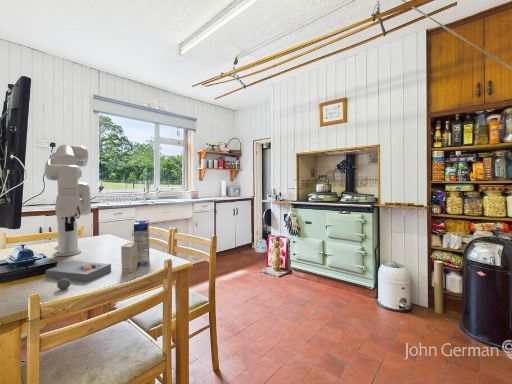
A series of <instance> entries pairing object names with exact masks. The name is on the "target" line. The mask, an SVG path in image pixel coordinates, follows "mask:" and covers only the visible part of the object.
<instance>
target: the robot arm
mask: <svg viewBox="0 0 512 384" xmlns="http://www.w3.org/2000/svg"><path fill="white" fill-rule="evenodd" d="M88 159H89V151H88V149H87V147H85V146H83V145H76V144H75V145H74V144H62V145H59V146H58V147H57V148H56V152H52V153H51V154H50V158H49V159H47V161H46V162H45V165H44V176H45V178H46V179H47V180H49V181H57V194H56V199H55V206H54V209H55V216H56V222H57V244H58V245H56V246H55V247H53V248H54V250H56V252H55V253H54V255H55V256H56V257H69V256H74V255H75V256H76V255H77V254H80V253H81V252H82V249H80V248H79V238H78V237H79V236H78V235H79V234H78V223H77V220H79V219H81V217H83V216H88V215H90V214H91V212H92V211H91V210H92V206H91V205H92V201H91V200H92V199H91V189H90V185H89V183H87V182H84V181H83V182H82V181H81V182H79V180H80V178H82V173H83V172H82V169H81V168H84V167H86V166H87V164H88Z"/></svg>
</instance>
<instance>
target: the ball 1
mask: <svg viewBox="0 0 512 384" xmlns="http://www.w3.org/2000/svg"><path fill="white" fill-rule="evenodd" d="M71 283H72V281H70V280H69V279H67V278H63V279H58V282H57V284H56V288H58V289H59V290H66V289H67V290H68V288H70V286H71Z"/></svg>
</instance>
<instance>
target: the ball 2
mask: <svg viewBox="0 0 512 384" xmlns="http://www.w3.org/2000/svg"><path fill="white" fill-rule="evenodd" d="M90 269H92V267H91V266H85V267H83V268H82V270H90Z"/></svg>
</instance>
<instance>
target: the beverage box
mask: <svg viewBox="0 0 512 384" xmlns="http://www.w3.org/2000/svg"><path fill="white" fill-rule="evenodd" d="M133 242H137V263H138V267H137V268H140V267H139V266H143V267H149V266H150V220H135V221H134V223H133Z"/></svg>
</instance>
